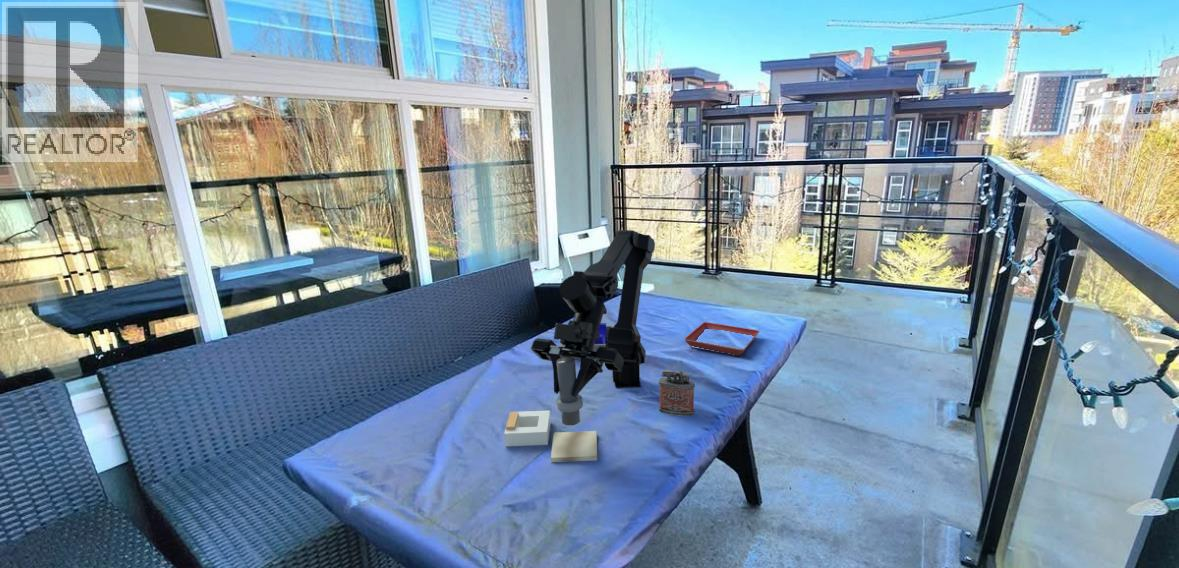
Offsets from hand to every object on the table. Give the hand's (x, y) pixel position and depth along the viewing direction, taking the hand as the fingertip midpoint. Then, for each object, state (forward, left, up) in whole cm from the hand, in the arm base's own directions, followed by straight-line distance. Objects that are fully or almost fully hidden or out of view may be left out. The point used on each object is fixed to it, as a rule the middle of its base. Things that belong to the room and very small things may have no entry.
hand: (564, 394), depth 97 cm
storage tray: (-4, -55, -12) cm, 57 cm away
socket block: (+9, -7, -12) cm, 17 cm away
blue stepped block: (-7, -55, -13) cm, 57 cm away
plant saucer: (-45, -54, -13) cm, 72 cm away
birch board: (-1, -1, -12) cm, 13 cm away
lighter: (-24, -14, -13) cm, 31 cm away
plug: (-1, -1, -7) cm, 7 cm away
